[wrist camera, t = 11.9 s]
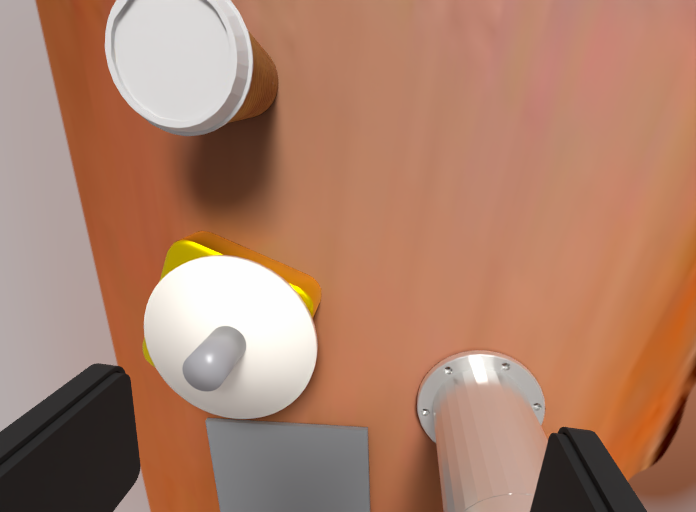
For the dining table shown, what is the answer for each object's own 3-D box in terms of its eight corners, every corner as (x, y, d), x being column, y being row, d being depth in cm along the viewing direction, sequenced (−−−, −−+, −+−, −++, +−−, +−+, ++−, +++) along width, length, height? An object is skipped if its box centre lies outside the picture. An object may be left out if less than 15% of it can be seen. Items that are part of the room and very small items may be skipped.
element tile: (160, 341, 45) (133, 363, 41) (194, 223, 41) (168, 234, 36) (281, 394, 45) (267, 422, 41) (328, 281, 41) (319, 299, 36)
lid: (318, 421, 40) (304, 467, 34) (159, 405, 42) (123, 445, 36) (317, 259, 35) (301, 282, 30) (138, 250, 37) (92, 269, 32)
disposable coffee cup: (280, 7, 34) (217, -60, 22) (307, 123, 36) (263, 116, 25) (180, 37, 35) (74, -10, 24) (212, 146, 38) (129, 150, 26)
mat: (371, 554, 50) (371, 558, 49) (227, 540, 52) (225, 543, 52) (367, 427, 44) (367, 430, 44) (207, 417, 47) (205, 420, 47)
